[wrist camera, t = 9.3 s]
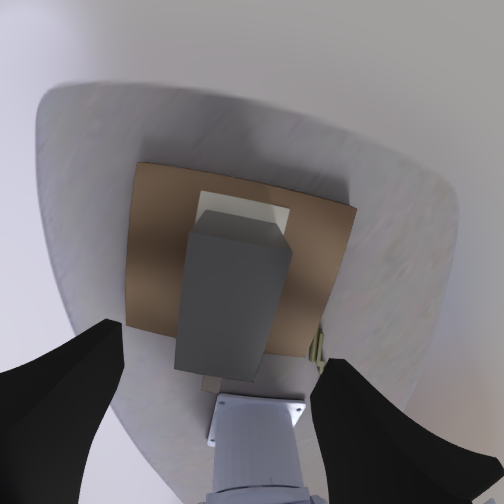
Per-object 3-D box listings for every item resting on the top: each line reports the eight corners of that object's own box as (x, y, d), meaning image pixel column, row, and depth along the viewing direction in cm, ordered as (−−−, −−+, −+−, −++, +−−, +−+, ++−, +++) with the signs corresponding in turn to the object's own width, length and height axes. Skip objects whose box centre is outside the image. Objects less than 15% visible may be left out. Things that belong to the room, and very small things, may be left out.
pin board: (302, 347, 20) (312, 381, 16) (131, 316, 18) (112, 347, 15) (349, 205, 16) (377, 217, 13) (144, 162, 15) (118, 163, 11)
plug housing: (243, 350, 18) (245, 405, 13) (186, 340, 17) (172, 393, 13) (276, 223, 15) (293, 252, 10) (205, 209, 15) (189, 232, 10)
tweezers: (332, 407, 23) (334, 414, 22) (313, 412, 23) (314, 419, 22) (329, 309, 19) (332, 315, 18) (302, 315, 19) (305, 321, 18)
